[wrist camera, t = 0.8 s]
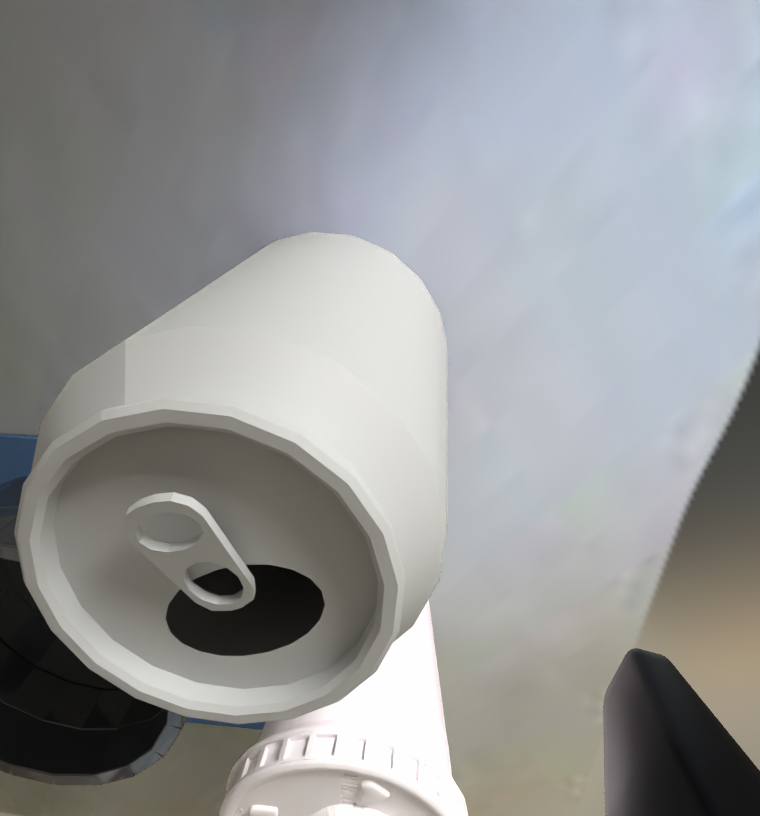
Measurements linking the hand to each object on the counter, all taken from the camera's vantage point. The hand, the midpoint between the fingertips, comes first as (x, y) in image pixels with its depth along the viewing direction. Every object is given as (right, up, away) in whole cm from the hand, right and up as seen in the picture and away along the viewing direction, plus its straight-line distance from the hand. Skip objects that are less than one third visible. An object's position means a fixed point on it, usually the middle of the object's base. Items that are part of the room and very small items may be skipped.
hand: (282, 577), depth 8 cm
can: (0, +4, +13) cm, 13 cm away
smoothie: (+1, -5, +16) cm, 17 cm away
